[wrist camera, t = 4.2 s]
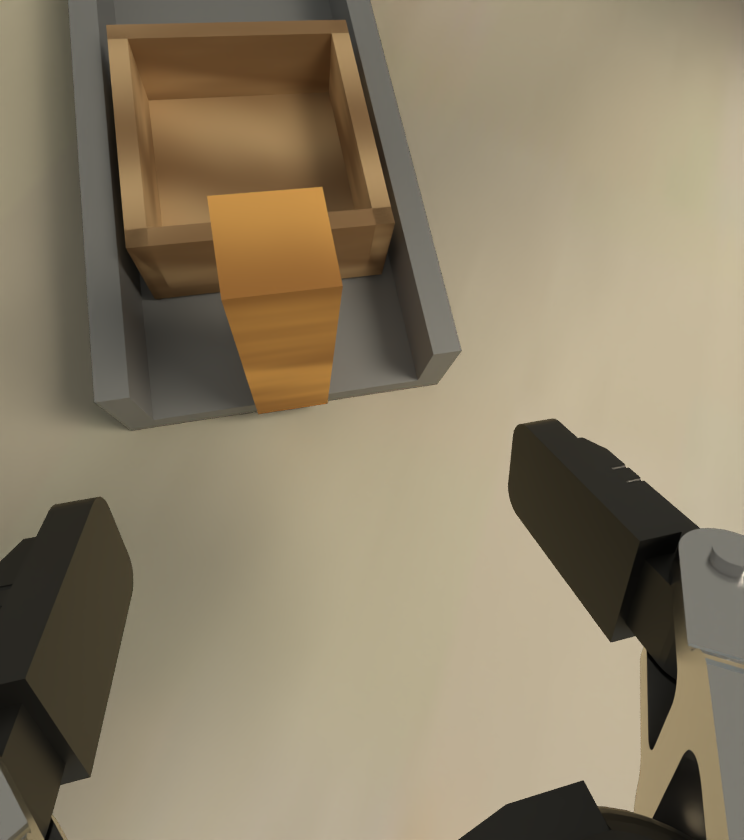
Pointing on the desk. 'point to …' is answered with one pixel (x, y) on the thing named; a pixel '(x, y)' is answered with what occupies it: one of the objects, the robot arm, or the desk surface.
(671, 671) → the robot arm
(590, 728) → the desk surface
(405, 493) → the desk surface
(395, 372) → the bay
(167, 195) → the crate
